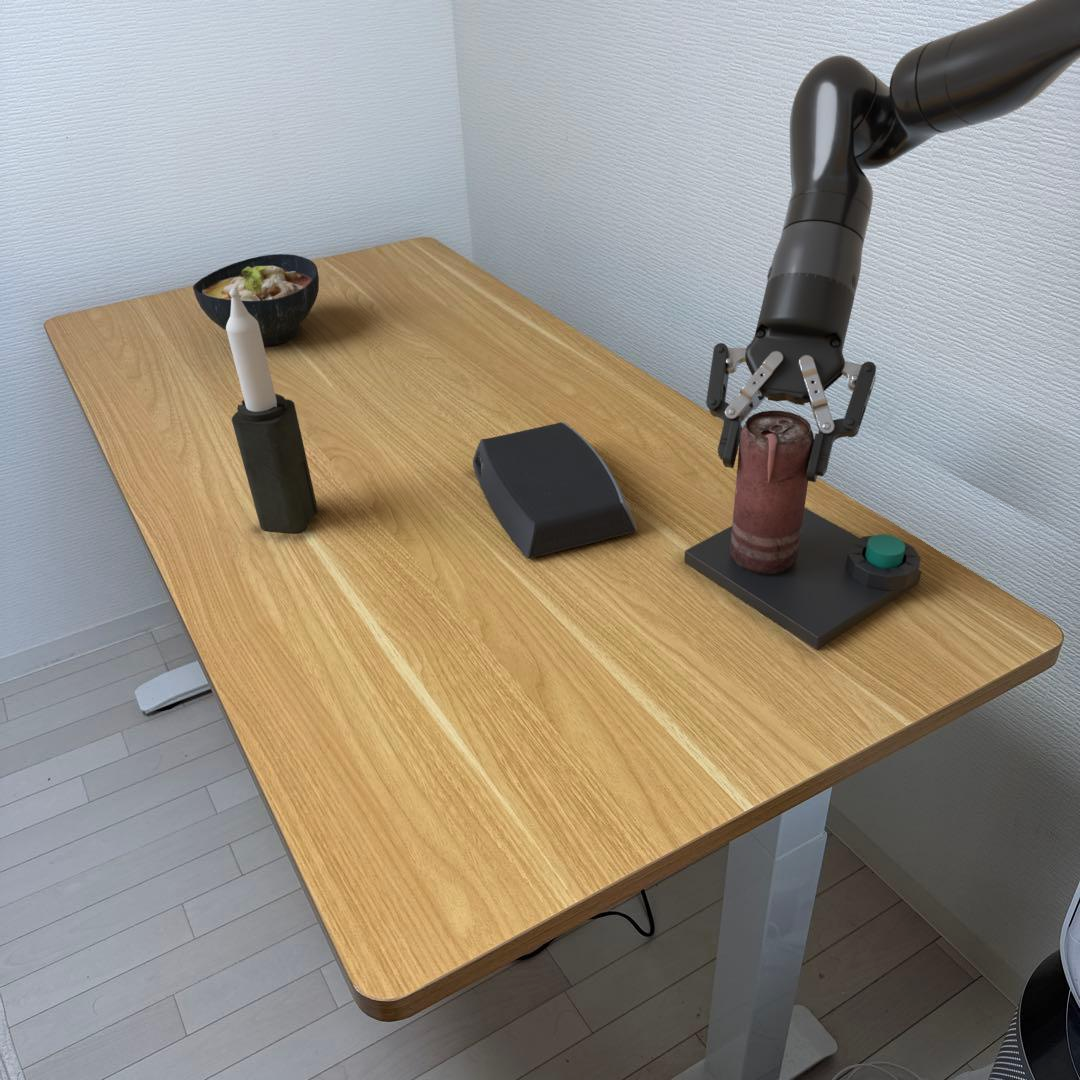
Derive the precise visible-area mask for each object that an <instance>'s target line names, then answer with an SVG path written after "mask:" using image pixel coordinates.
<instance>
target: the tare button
mask: <svg viewBox="0 0 1080 1080" xmlns="http://www.w3.org/2000/svg"><path fill="white" fill-rule="evenodd" d="M871 536H872V537H871V538H869V540H868V542H867V548H866V553H865V558H866V560H867V561H868V562H869V563H871V564H873V565H874V566H877V567H882V568H887V569H888V568H896V567H898V566H900V565H901V564H902V561H903V556H904V552H905V544H904V543H903V542H904V540H902V539H901V538H900V537H897V536H894V535H892V534H888V533H887V534H886V533H885V534H884V533H881V534H880V533H879V534H874V536H873V535H871Z"/></svg>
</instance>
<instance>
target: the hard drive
mask: <svg viewBox="0 0 1080 1080" xmlns="http://www.w3.org/2000/svg"><path fill="white" fill-rule="evenodd" d="M472 466H473V471H474V473H475V477H476V478H477V479H476V480H477V481H478V484H479V486H480V489H481V491H482V493H483V495H484V498H485V499H486V501H487V503H488V505H489V507H490V509H491V510H492V512H493V514H494V516H495V517H496V519H497V521H498V522H499V523H500V526H501V527H502V528H503V530H504V531H505V532H506V533H505V534H507V535H508V537H509V538H510V540H511V541H512V542H513V544H514V545H515V547H516V548H518V550H519V551H520V552H521V553H522V555H523V556H524V557H525V558H526V559H534V558H537V557H540V556H541V557H542V556H545V555H549V554H553V553H558V552H560V551H565V550H569V549H573V548H577V547H581V546H585V545H589V544H593V543H599V542H601V541H605V540H609V539H613V538H617V537H622V536H626V535H629V534H634V533H637V532H638V531H639V528H638V526H637V523H636V520H635V518H634V515H633V514H632V511H631V508H630V506H629V504H628V502H627V500H626V498H625V496H624V493H623V492H622V490H621V488H620V485H619V484H618V482H617V480H616V478H615V476H614V475H613V473H612V471H611V470H610V468H609V467H608V465H607V464H606V462H605V460H604V459H603V457H602V456H601V455H600V454H599V452H598V451H596V449H595V448H594V447H593V445H591V444H590V443H589V442H588V441H587V440H586V439H585V437H583V436H582V435H581V434H580V433H579V432H578V431H577V430H576V429H574V428H573V427H572V426H570V425H569V424H567V423H566V422H564V421H561V422H556V423H551V424H547V425H542V426H539V427H534V428H529V429H525V430H520V431H516V432H511V433H506V434H502V435H497V436H493V437H488V438H482V439H480V441H479V443H478V445H477V447H476V450H475V453H474V455H473V459H472Z"/></svg>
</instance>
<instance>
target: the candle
mask: <svg viewBox="0 0 1080 1080" xmlns="http://www.w3.org/2000/svg"><path fill="white" fill-rule="evenodd" d="M229 294H230V296H231V297H232V299H231V314H230V318H229V320H228V322H227V325H226V330H225V331H226V334H227V335H226V336H227V338H228V342H229V346H230V350H231V354H232V357H233V361H234V365H235V369H236V373H237V377H238V381H239V385H240V389H241V393H242V396H243V400H242V401H241V404H238V405H237V408H236V412H235V413H234V414H233V416H232V417H231V423H232V427H233V430H234V434H235V437H236V442H237V445H238V449H239V453H240V456H241V461H242V463H243V468H244V471H245V475H246V479H247V483H248V486H249V490H250V494H251V497H252V502H253V504H254V509H255V513H256V516H257V521H258V523H259V527H260V529H261V530H262V531H264V532H272V533H273V532H274V533H286V534H298V533H301V532H303V531H305V530H306V529H307V528H308V524H309V522H310V521H311V520H312V518H313V517H314V515H315V514H317V513H318V512H319V509H318V504H317V499H316V494H315V490H314V486H313V482H312V477H311V473H310V468H309V464H308V459H307V453H306V450H305V446H304V440H303V435H302V432H301V428H300V427H301V426H300V423H299V419H298V413H297V409H296V405H295V402H294V401H293V400H291V399H288V398H285V397H284V396H283V395H281V394H278V393H276V391H275V388H274V383H273V380H272V375H271V370H270V366H269V362H268V358H267V354H266V350H265V347H264V345H263V340H262V336H261V332H260V328H259V323H258V321H257V320H256V319H255V318H254V317H253V316H252V315H251V314H249V313H248V311H247V309H246V308H245V306H244V304H243V303H242V301H241V299H240V298H239V291H238V290H236V289H231V291H230V293H229Z"/></svg>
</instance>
